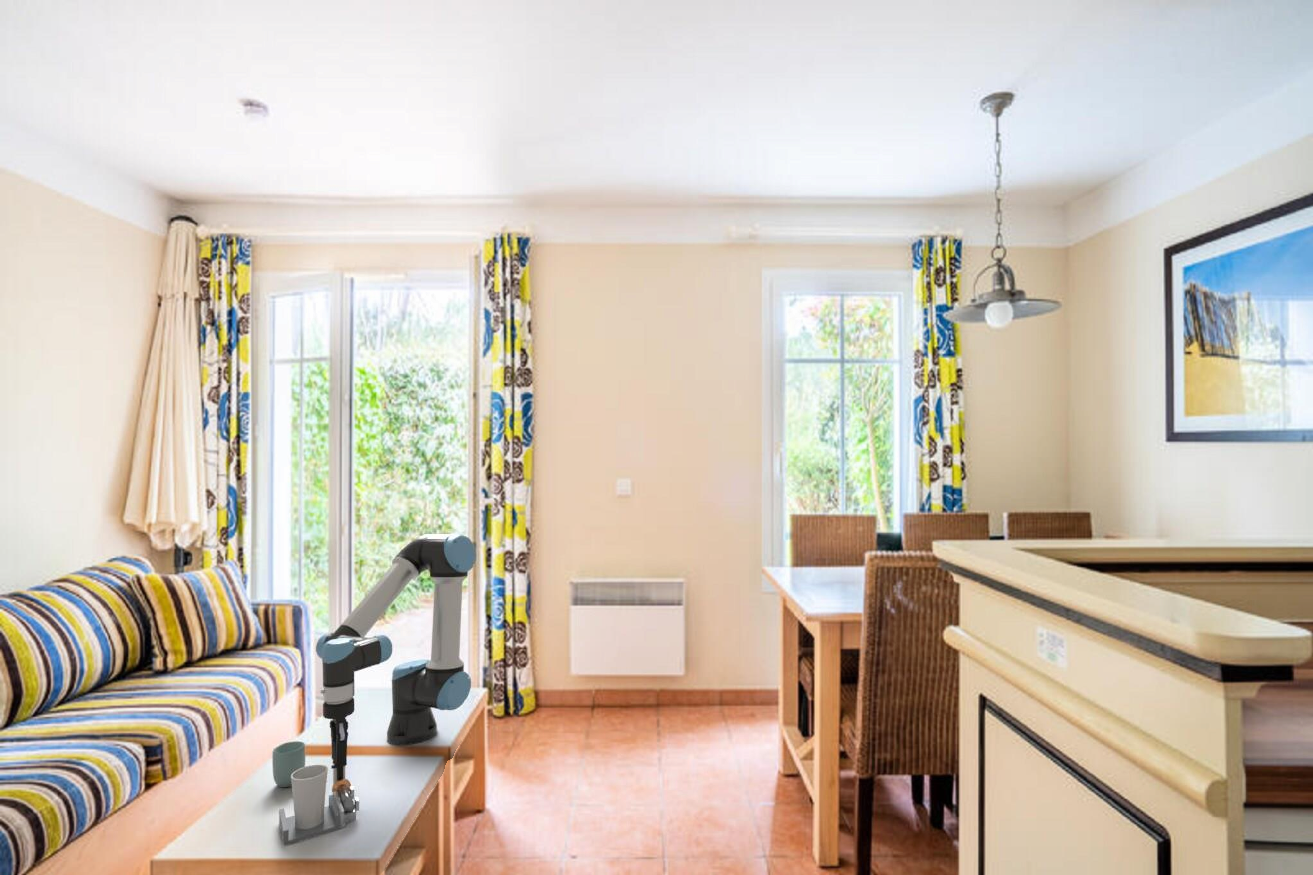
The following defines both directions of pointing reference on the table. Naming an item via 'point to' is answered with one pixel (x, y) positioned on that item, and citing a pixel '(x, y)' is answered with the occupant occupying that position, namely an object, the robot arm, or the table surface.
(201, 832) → the table surface
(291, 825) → the dock
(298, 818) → the cup
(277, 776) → the cup
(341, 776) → the robot arm
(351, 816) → the lug rail
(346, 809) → the lock pin
